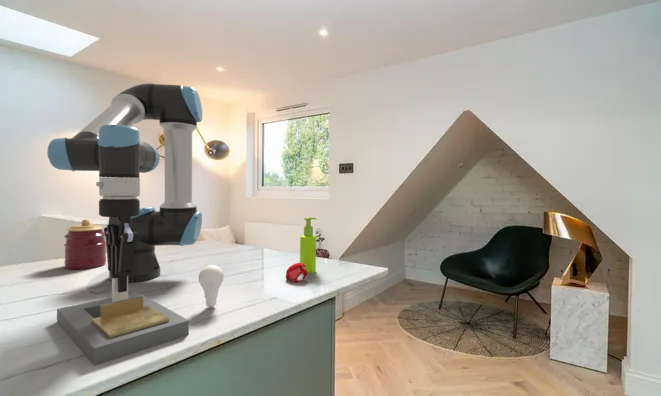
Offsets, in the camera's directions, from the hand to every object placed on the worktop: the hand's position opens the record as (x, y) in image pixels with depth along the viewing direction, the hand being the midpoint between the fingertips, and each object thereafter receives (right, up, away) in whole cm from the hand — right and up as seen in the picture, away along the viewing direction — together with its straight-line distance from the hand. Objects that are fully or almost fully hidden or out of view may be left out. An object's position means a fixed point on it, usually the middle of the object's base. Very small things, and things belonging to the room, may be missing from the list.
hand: (120, 305), depth 75 cm
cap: (+35, -4, +40) cm, 53 cm away
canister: (-47, -2, +55) cm, 72 cm away
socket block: (0, -5, 0) cm, 5 cm away
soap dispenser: (+38, -4, +53) cm, 65 cm away
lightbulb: (+15, -5, +13) cm, 21 cm away
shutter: (+5, -2, -4) cm, 7 cm away
